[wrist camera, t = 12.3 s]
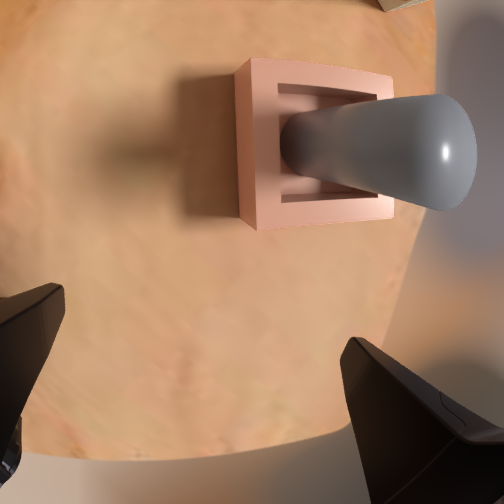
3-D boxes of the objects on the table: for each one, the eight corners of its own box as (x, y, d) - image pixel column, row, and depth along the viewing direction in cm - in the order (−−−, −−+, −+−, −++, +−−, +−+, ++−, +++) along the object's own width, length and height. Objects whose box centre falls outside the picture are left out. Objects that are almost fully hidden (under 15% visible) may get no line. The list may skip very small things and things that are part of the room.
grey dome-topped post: (269, 162, 21) (390, 184, 10) (292, 101, 20) (423, 71, 9) (326, 186, 22) (458, 226, 11) (346, 128, 21) (484, 131, 11)
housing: (239, 217, 22) (256, 231, 18) (234, 73, 19) (250, 57, 15) (361, 208, 25) (393, 218, 21) (359, 84, 22) (392, 77, 18)
